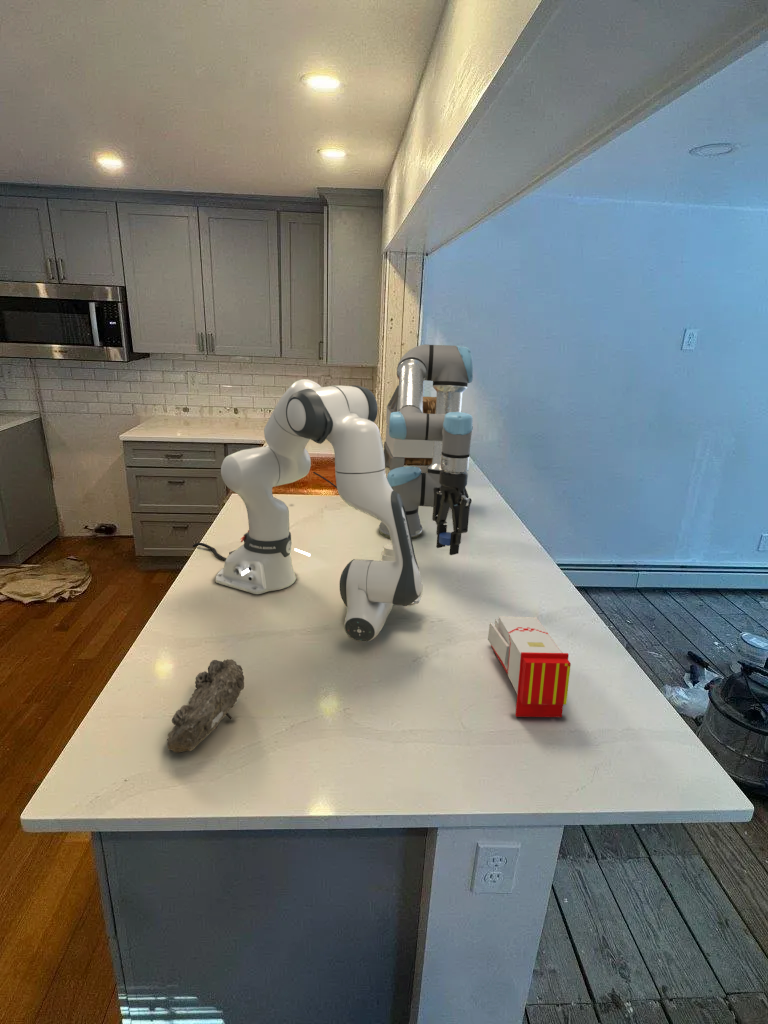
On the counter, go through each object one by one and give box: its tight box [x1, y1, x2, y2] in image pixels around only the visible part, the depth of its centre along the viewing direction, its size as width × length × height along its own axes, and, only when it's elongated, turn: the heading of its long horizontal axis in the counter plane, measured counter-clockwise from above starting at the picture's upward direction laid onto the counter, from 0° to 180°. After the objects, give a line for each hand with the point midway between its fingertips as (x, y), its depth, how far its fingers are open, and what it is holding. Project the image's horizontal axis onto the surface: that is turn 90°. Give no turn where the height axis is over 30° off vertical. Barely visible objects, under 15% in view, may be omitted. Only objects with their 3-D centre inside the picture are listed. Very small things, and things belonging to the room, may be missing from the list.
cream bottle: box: [380, 543, 396, 561], centre depth 153 cm, size 5×5×16 cm
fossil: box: [166, 658, 245, 754], centre depth 106 cm, size 22×10×15 cm
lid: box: [439, 531, 452, 547], centre depth 159 cm, size 5×5×2 cm
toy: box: [487, 616, 572, 718], centre depth 123 cm, size 12×13×30 cm
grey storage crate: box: [383, 384, 437, 472], centre depth 268 cm, size 34×33×41 cm
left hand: (389, 574), depth 154 cm, fingers closed on cream bottle, 5 cm apart
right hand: (447, 550), depth 160 cm, fingers closed on lid, 5 cm apart
